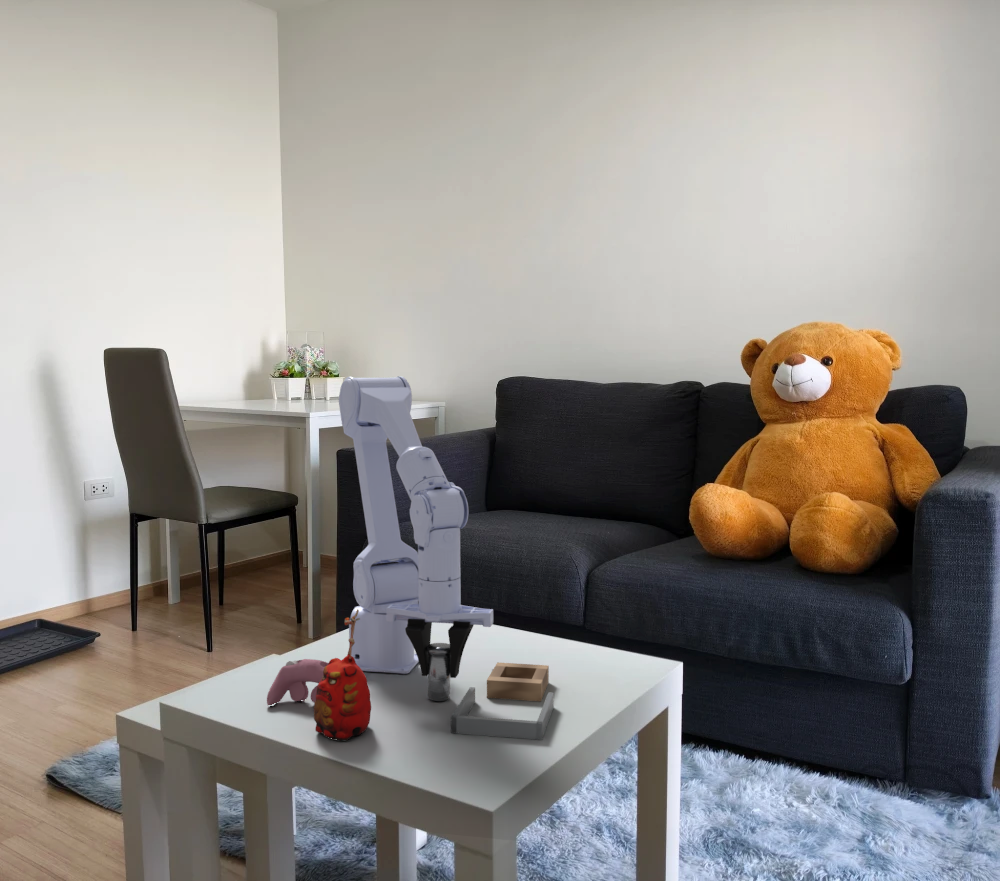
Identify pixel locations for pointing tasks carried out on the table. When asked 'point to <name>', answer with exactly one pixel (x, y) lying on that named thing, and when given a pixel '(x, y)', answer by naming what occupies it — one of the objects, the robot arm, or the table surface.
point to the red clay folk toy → (343, 696)
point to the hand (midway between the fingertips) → (440, 674)
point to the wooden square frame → (518, 681)
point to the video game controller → (296, 680)
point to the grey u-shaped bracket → (499, 721)
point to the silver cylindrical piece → (439, 671)
